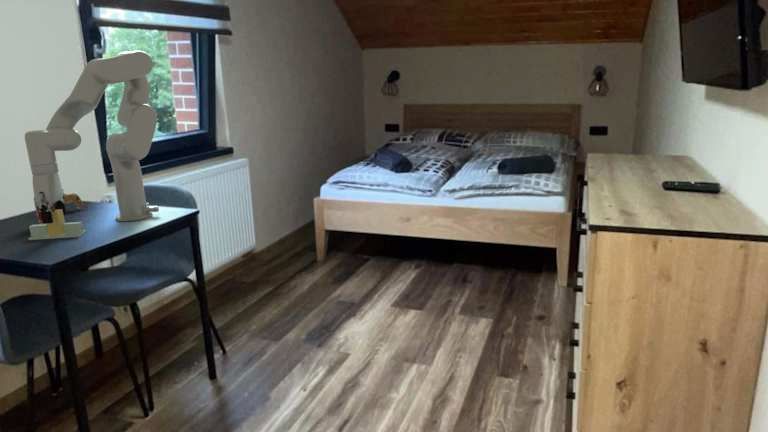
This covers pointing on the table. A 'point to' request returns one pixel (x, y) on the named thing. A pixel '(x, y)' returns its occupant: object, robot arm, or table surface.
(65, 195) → the lion figurine
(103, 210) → the table surface
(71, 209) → the table surface
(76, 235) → the cream holder stand
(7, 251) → the table surface
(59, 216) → the tan rectangular block
